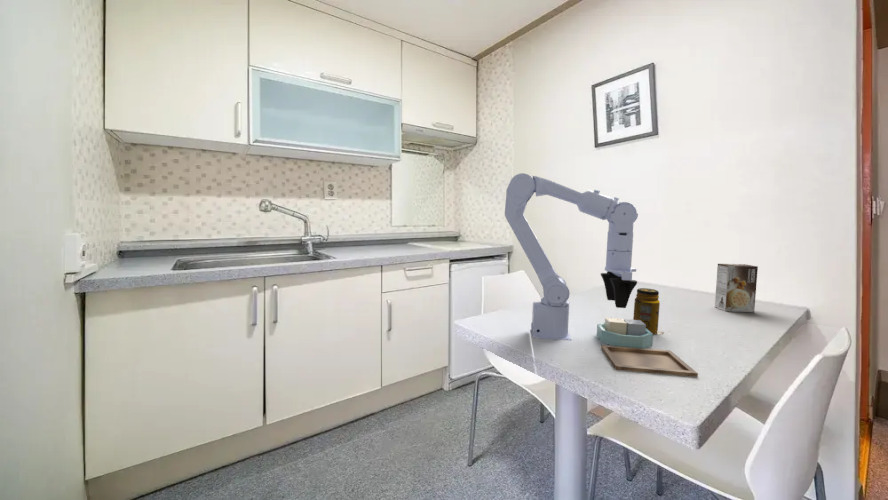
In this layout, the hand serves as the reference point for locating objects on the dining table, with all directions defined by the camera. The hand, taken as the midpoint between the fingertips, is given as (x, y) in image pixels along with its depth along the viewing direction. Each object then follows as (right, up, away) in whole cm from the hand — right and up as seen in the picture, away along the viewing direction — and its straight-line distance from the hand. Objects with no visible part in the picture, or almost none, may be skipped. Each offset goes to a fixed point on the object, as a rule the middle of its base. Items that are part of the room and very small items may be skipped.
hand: (616, 303), depth 87 cm
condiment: (+12, -10, +9) cm, 18 cm away
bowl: (+2, -10, 0) cm, 10 cm away
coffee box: (+59, -8, +34) cm, 68 cm away
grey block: (+4, -9, 0) cm, 10 cm away
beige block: (0, -9, +1) cm, 9 cm away
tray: (0, -11, -12) cm, 17 cm away
